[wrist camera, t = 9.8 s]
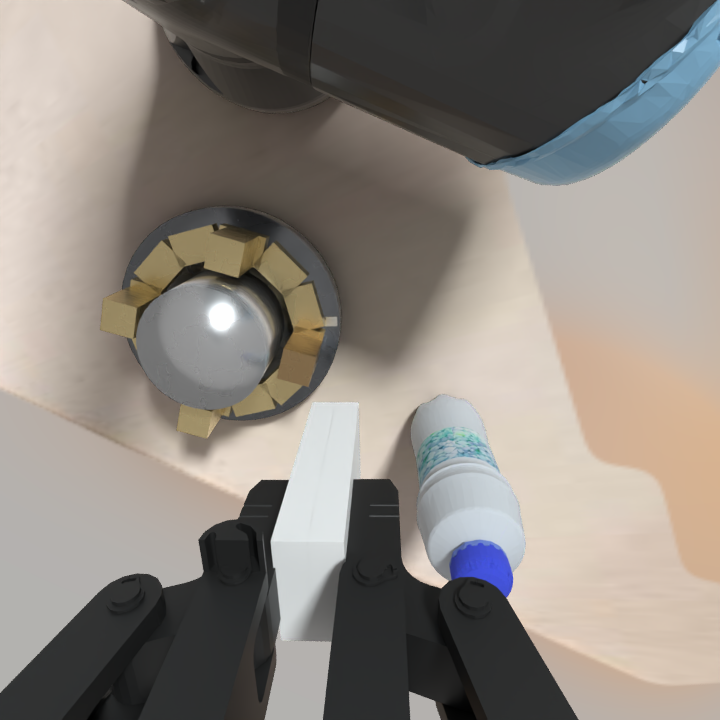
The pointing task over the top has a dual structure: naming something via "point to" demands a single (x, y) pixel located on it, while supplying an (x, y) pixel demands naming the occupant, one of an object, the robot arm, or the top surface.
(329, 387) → the top surface
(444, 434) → the bottle
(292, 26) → the robot arm
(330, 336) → the cap plate
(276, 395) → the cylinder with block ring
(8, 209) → the top surface
